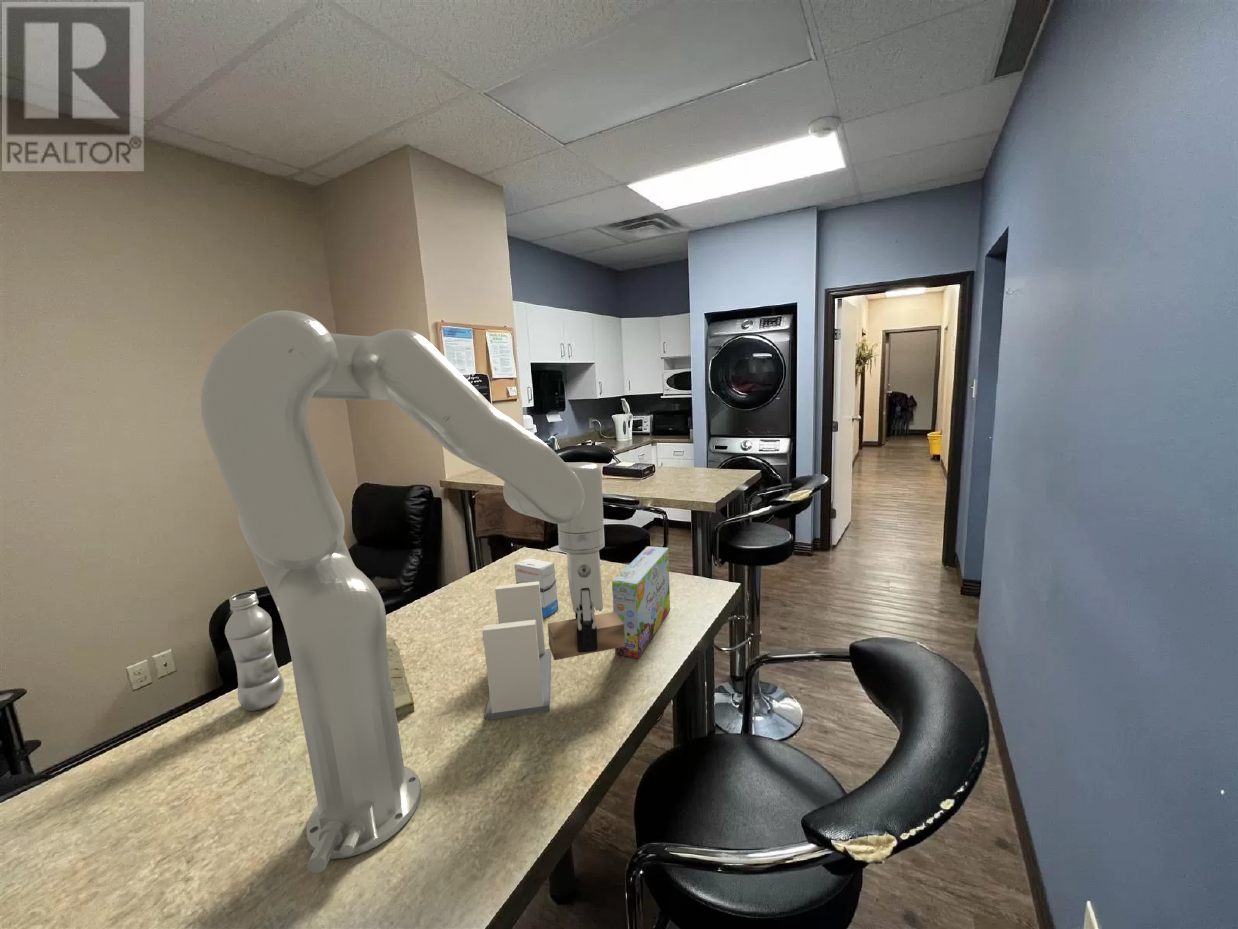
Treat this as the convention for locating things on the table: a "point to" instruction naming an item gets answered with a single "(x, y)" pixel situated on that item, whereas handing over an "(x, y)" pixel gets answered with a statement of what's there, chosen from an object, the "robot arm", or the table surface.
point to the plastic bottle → (253, 653)
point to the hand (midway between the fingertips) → (586, 640)
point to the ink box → (540, 581)
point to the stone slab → (399, 680)
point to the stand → (517, 654)
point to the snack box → (642, 598)
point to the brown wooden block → (566, 635)
